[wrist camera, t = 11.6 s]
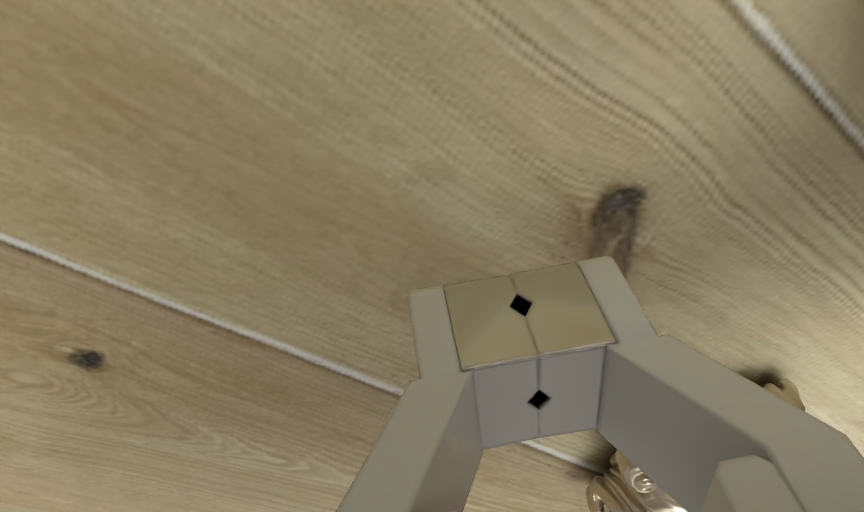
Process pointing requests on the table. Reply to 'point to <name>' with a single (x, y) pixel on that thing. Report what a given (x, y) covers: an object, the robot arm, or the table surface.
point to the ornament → (635, 492)
